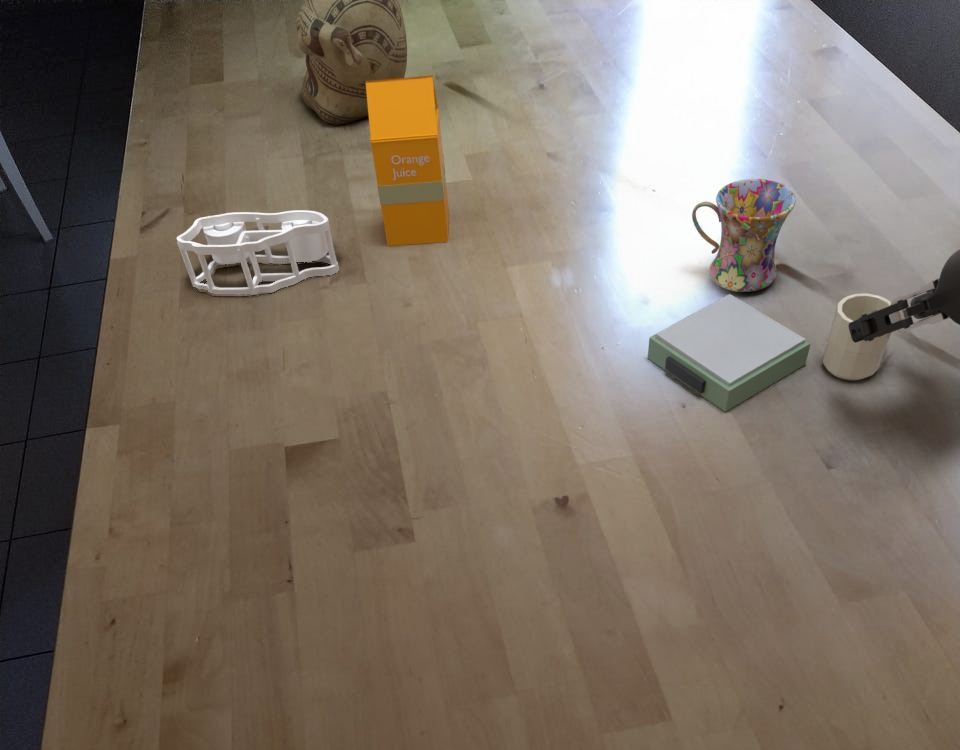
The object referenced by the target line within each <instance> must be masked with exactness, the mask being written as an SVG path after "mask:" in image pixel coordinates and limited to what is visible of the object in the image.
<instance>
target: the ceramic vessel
mask: <svg viewBox="0 0 960 750" xmlns="http://www.w3.org/2000/svg"><path fill="white" fill-rule="evenodd" d="M404 20H405V19H404V14H403V11H402V7H401V5H400V1H399V0H302V4H301V8H300V10H299V12H298V15H297V17H296V21H295V28H296V33H297V44H298V45H297V46H298V47H299V50H300V51H301V52H302V53H303V54H305V67H306V71H305V73H304V78H303V81H302V86H301V95H302V99H303V101H304V103H305V104H306V106H308V107H309V108H310V109H311V110H312V111H314V112H315V113H316V114H317V115H318V117H319V118H320V119H321V120H322V121H323V122H325V123H327V124H329V125H334V124H335V125H334V126H338V125H337V124H342V125H346V124H350V123H353V122H357V121H359V119H360V120H362V119H364V118H369V114H368V104H367V93H366V82H365V81H372V80H384V79H396V78H405V76H406V72H407V65H408V40H407V32H406V25H405V21H404ZM356 120H357V121H356Z"/></svg>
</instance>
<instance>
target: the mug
mask: <svg viewBox="0 0 960 750" xmlns="http://www.w3.org/2000/svg"><path fill="white" fill-rule="evenodd" d="M796 199H797V198H796V195H795V193H794V192H793V191H792V190H791V189H790V188H789V187H788V186H786V185H784V184H782V183H781V182H777V181H774V180H770V179H766V178H765V179H764V178H746V179H745V178H744V179H739V180H735V181H733V182H730V183H728V184H726V185H723V187H721V189H720V190H719V191H718V192H717V194H716V198H715V202H716V204H714V203H713V202H710V201H702V202H699V203H697V204H696V205H695V206H694V208H693V210H692V213H691V219H692V222H693V225H694V227H695V229H696V231H697V233H698V234H699V235H700V237H702V239H703V240H704V241H706V242H707V243H708V244H710V245H711V246H713V247H714V248H713V249H712V250H711V254H712V255H714V254H716V253H717V254H716V255H715V257H714V259H713V260H712V262H711V264H710V266H709V268H708V273H709V277H710V279H711V280H712V281H713V282H714V283H715V284H716V285H717V286H719V287H721V288H723V289H724V290H728V291H731V292H737V293H752V292H757V291H760V290H763V289H765V288H767V287H769V286H770V285H772V284H773V282H774V281H775V279H776V277H777V275H778V272H777V271H778V269H777V266H776V263H775V249H776V244H777V240H778V236H779V234H780V231H781V229H782V227H783V225H784V224H785V221H787V218H788V217H789V215H790V214H791V212H792V211H793V209H794V208H795V206H796V202H797V200H796ZM702 207H707V208H710V209H712V210H713V211H714V212H715V213H716V216H717V218H718V222H719V223H720V225H721V230H720V231H721V233H720V234H721V235H720V242H719V243H718V242H717V241H715V240H714V239H713V238H711V237H710V236H709V235H707V234H706V232H704V229H702V227H701V225H700V224H699V220H698V219H697V210H698V209H700V208H702Z"/></svg>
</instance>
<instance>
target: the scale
mask: <svg viewBox="0 0 960 750" xmlns="http://www.w3.org/2000/svg"><path fill="white" fill-rule="evenodd" d="M811 344H812V343H811V342H810V341H808V340H807V339H806V338H805V337H803V336H801V335H799V334H798V333H796V332H794V331H793V330H791V329H790V328H788V327H786V326H784V325H782V324H781V323H779V322H778V321H776V320H774V319H773V318H771V317H769V316H767V315H766V314H764V313H762V312H761V311H759V310H757V309H756V308H754V307H753V306H750V305H749V304H747V303H746V302H744V301H743V300H741V299H739V298H737V297H735V296H734V295H732V294H731V293H729V294H727V295H724V296H722V297H721V298H719V299H717V300H716V301H714V302H712V303H710V304H708V305H706V306H704V307H703V308H701V309H699V310H697V311H695V312H693V313H692V314H689V315H688V316H686V317H684V318H683V319H681V320H679V321H677V322H675V323H672V324H671V325H670V326H668V327H666V328H664V329H662V330H660V331H659V332H656V333H655V334H653V335H651V336H650V337H649V339H648V347H647V348H648V350H647V360H649V361H651V362H652V363H654V364H655V365H656V366H657V367H659V368H661V369H662V370H663V371H665V372H666V373H668V374H669V375H671V376H672V377H674V378H675V379H677V381H679V382H681V383H683V384H684V385H685V386H686V387H688V388H689V389H691V390H692V391H694V392H695V393H696V394H698V395H700V396H701V397H702V398H704V399H705V400H706V401H708V402H710V403H711V404H712V405H714V406H715V407H717V408H719V409H720V410H721V411H723V412H724V413H726V412H728V411H729V410H731V409H733V408H734V407H737V406H738V405H740V404H742V403H743V402H745V401H746V400H748V399H750V398H751V397H753V396H755V395H756V394H758V393H760V392H761V391H763V390H765V389H766V388H768V387H770V386H771V385H773V384H775V383H776V382H779V381H780V380H782V379H784V378H786V377H787V376H788V375H791V374H792V373H793V372H795V371H797V370H798V369H800V368H802V367H803V366H805V365H806V363H807V360H808V354H809V351H810V348H811Z"/></svg>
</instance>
